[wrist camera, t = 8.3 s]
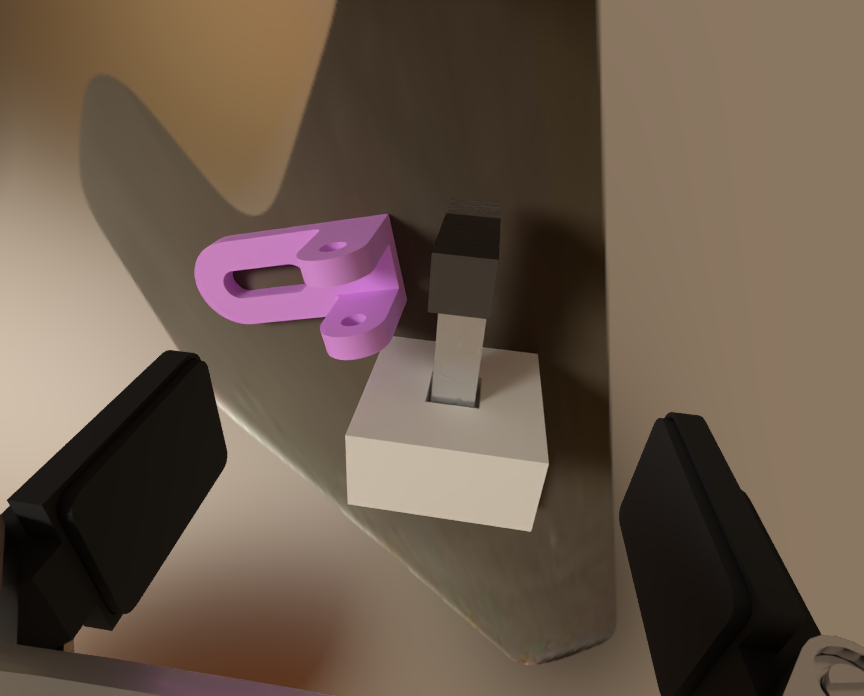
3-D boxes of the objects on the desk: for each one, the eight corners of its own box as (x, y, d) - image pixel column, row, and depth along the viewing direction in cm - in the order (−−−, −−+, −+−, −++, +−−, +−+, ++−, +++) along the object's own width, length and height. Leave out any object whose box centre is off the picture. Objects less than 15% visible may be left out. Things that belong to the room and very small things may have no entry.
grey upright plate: (451, 198, 24) (431, 252, 18) (501, 203, 24) (499, 259, 17) (433, 406, 31) (415, 498, 24) (472, 411, 30) (463, 505, 24)
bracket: (388, 212, 29) (358, 255, 23) (407, 299, 31) (384, 357, 26) (192, 240, 31) (119, 285, 25) (225, 317, 34) (166, 374, 28)
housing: (387, 335, 33) (345, 435, 24) (537, 353, 32) (548, 463, 24) (385, 395, 35) (347, 504, 27) (525, 413, 35) (531, 531, 26)
